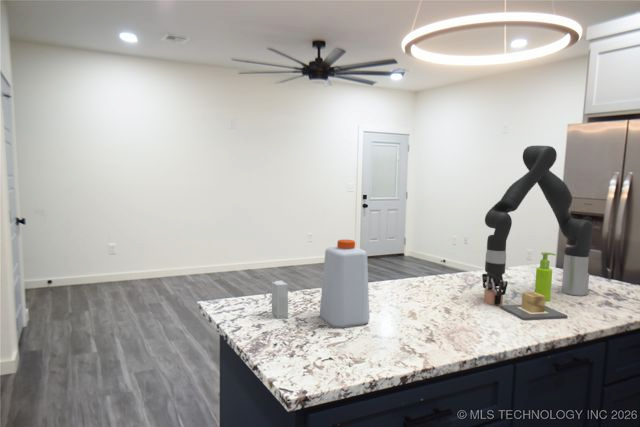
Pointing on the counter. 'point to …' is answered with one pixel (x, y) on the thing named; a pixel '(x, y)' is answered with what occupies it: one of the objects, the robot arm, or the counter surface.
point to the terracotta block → (491, 297)
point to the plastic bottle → (345, 286)
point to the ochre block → (533, 302)
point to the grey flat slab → (528, 315)
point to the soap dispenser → (544, 277)
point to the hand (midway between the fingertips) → (492, 301)
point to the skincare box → (279, 299)
